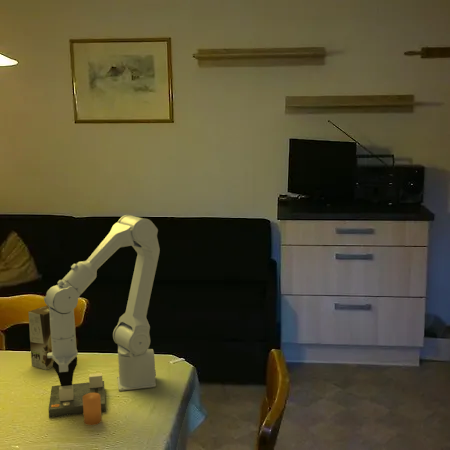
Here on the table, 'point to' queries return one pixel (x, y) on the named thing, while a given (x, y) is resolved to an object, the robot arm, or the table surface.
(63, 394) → the block
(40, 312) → the coffee box
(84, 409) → the cap
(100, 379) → the block
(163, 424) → the table surface
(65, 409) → the breaker panel
